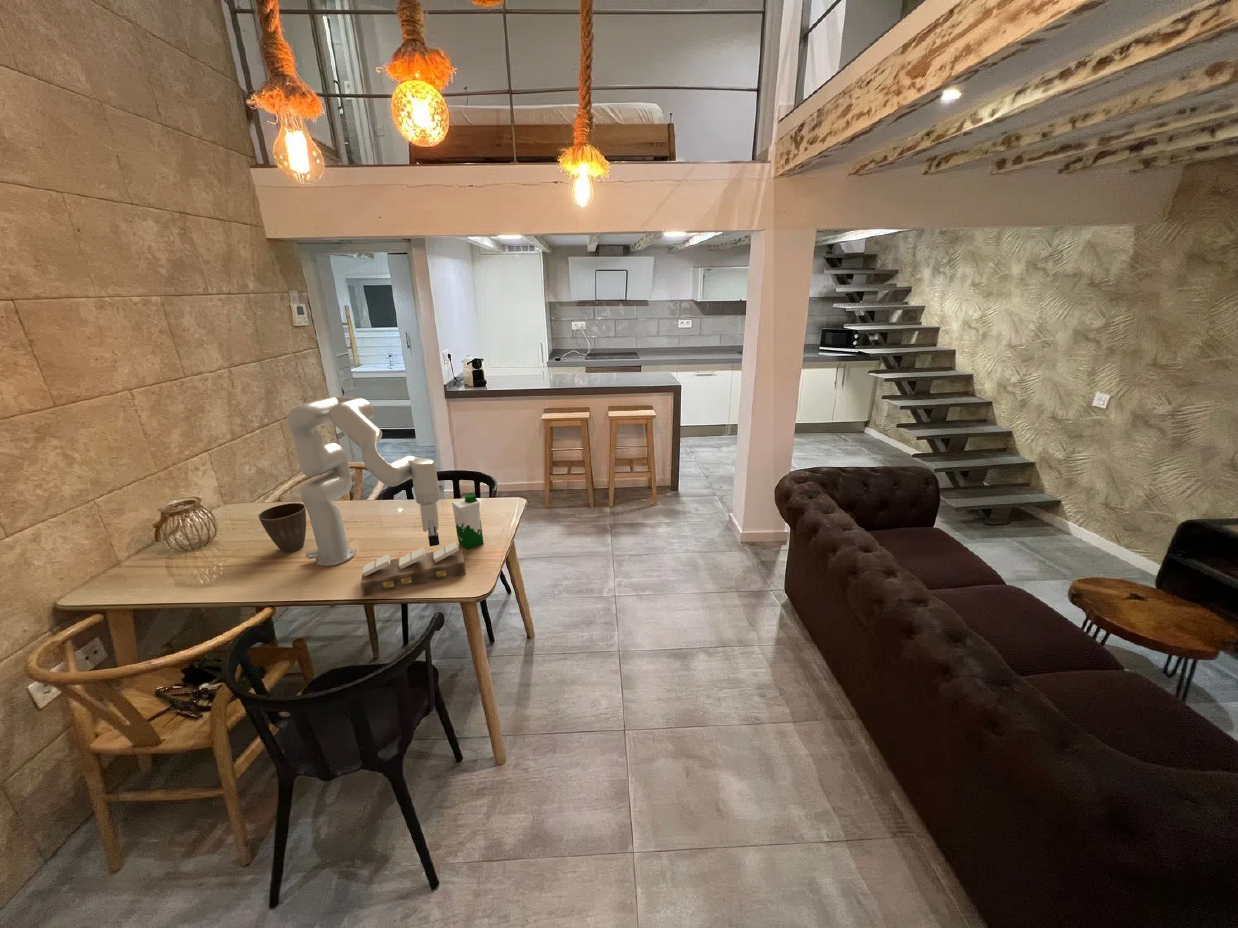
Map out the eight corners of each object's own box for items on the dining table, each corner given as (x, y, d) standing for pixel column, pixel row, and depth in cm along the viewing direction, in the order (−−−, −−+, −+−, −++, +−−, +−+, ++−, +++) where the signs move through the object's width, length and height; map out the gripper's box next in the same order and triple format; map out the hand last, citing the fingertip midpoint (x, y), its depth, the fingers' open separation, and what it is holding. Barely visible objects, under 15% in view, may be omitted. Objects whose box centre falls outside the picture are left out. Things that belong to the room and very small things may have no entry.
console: (363, 596, 156) (359, 580, 154) (366, 577, 167) (363, 562, 165) (466, 574, 167) (463, 559, 165) (462, 558, 178) (460, 543, 176)
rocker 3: (435, 562, 166) (433, 559, 165) (435, 555, 170) (433, 552, 170) (458, 550, 167) (456, 546, 167) (457, 543, 172) (455, 540, 171)
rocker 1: (364, 576, 158) (362, 572, 157) (366, 568, 162) (363, 565, 162) (389, 564, 160) (387, 560, 159) (390, 557, 164) (388, 553, 164)
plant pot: (292, 559, 180) (282, 520, 175) (259, 556, 183) (248, 517, 178) (323, 540, 194) (314, 504, 189) (292, 537, 197) (282, 501, 192)
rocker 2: (401, 569, 162) (398, 565, 161) (401, 561, 166) (399, 558, 166) (425, 557, 164) (422, 553, 163) (424, 550, 168) (422, 546, 168)
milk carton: (486, 544, 188) (481, 497, 181) (464, 552, 182) (457, 503, 176) (477, 536, 194) (471, 490, 188) (455, 544, 189) (448, 496, 182)
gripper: (415, 489, 166) (422, 537, 172) (415, 506, 153) (423, 557, 159) (438, 486, 168) (444, 533, 174) (440, 502, 155) (447, 552, 161)
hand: (434, 544), depth 167 cm, fingers closed
